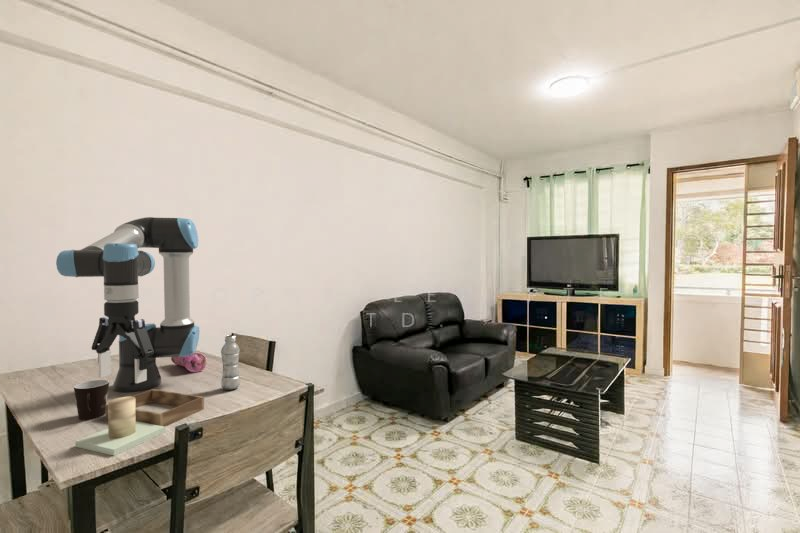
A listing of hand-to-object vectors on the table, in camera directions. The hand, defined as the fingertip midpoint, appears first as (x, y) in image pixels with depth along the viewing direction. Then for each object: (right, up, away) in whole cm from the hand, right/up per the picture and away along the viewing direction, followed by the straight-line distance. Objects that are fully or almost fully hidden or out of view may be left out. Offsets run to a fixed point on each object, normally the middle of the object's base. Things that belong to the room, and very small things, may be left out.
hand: (122, 378), depth 105 cm
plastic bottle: (+11, -16, +41) cm, 45 cm away
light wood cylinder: (0, -15, 0) cm, 15 cm away
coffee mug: (-20, -16, +14) cm, 29 cm away
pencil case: (-20, -16, +68) cm, 73 cm away
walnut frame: (-2, -16, +17) cm, 24 cm away
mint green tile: (0, -16, 0) cm, 16 cm away
